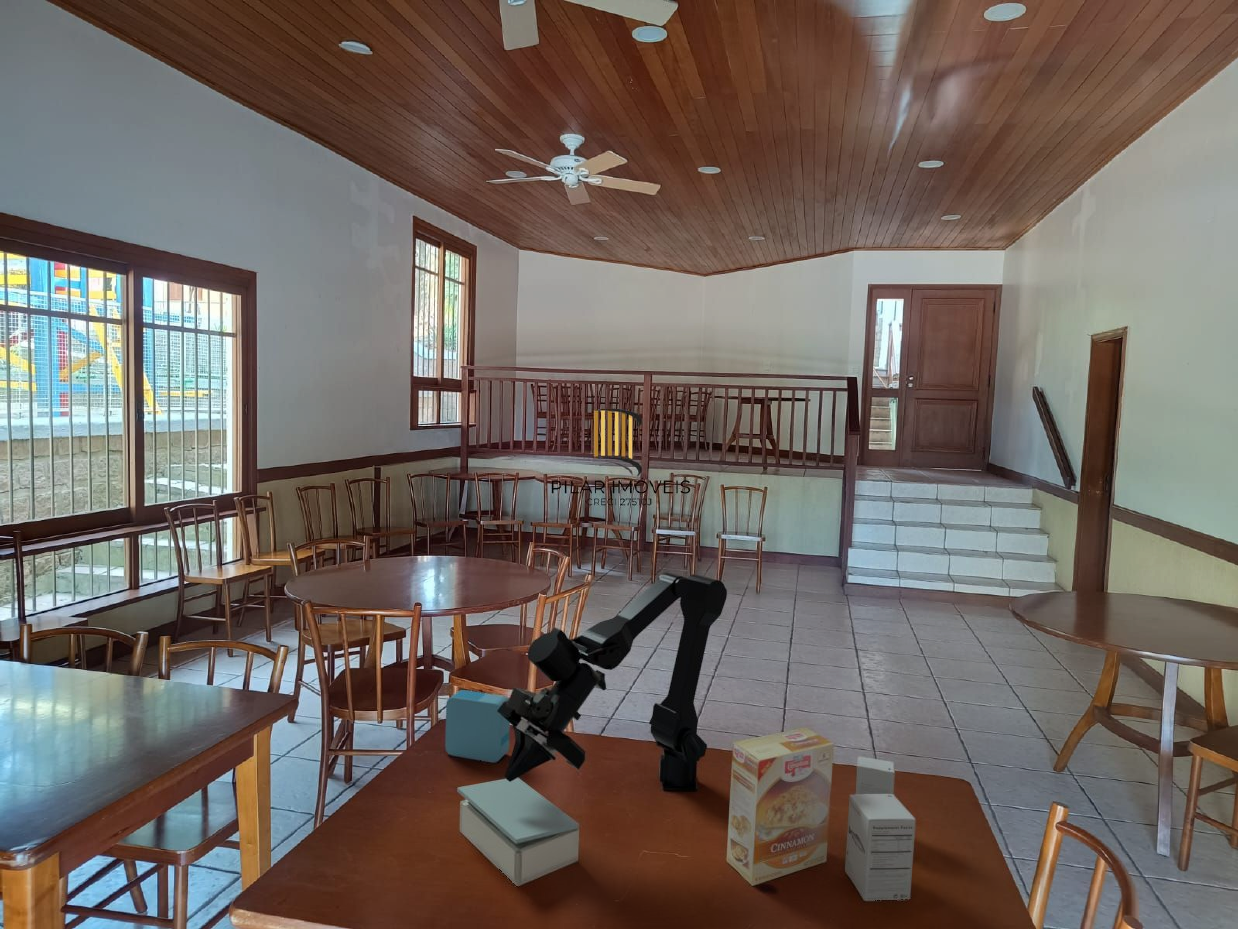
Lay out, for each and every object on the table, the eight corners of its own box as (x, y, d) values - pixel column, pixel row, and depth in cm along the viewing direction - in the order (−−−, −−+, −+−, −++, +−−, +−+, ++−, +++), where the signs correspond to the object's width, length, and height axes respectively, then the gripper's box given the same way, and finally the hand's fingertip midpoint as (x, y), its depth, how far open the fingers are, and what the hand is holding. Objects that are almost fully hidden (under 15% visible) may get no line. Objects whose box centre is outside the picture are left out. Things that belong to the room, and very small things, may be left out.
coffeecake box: (752, 887, 112) (759, 760, 111) (724, 861, 119) (730, 740, 117) (829, 863, 119) (836, 742, 118) (798, 839, 125) (805, 725, 124)
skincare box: (890, 829, 130) (895, 761, 129) (891, 842, 126) (895, 772, 125) (853, 822, 132) (857, 755, 131) (852, 834, 127) (857, 766, 127)
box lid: (516, 780, 131) (516, 776, 131) (578, 828, 117) (579, 824, 117) (457, 791, 124) (457, 787, 124) (515, 843, 109) (516, 839, 109)
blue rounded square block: (509, 754, 152) (510, 696, 151) (499, 764, 148) (501, 704, 147) (455, 745, 156) (456, 688, 155) (444, 754, 151) (445, 696, 150)
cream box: (517, 810, 131) (518, 782, 131) (577, 860, 117) (579, 829, 117) (459, 831, 124) (460, 801, 124) (516, 887, 110) (517, 854, 110)
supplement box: (843, 871, 117) (848, 793, 116) (889, 871, 118) (894, 792, 117) (862, 903, 110) (867, 819, 109) (911, 901, 110) (917, 818, 109)
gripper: (508, 653, 128) (447, 732, 122) (572, 687, 113) (506, 778, 107) (546, 689, 133) (489, 766, 127) (611, 725, 119) (551, 815, 113)
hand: (506, 779), depth 119 cm, fingers closed
